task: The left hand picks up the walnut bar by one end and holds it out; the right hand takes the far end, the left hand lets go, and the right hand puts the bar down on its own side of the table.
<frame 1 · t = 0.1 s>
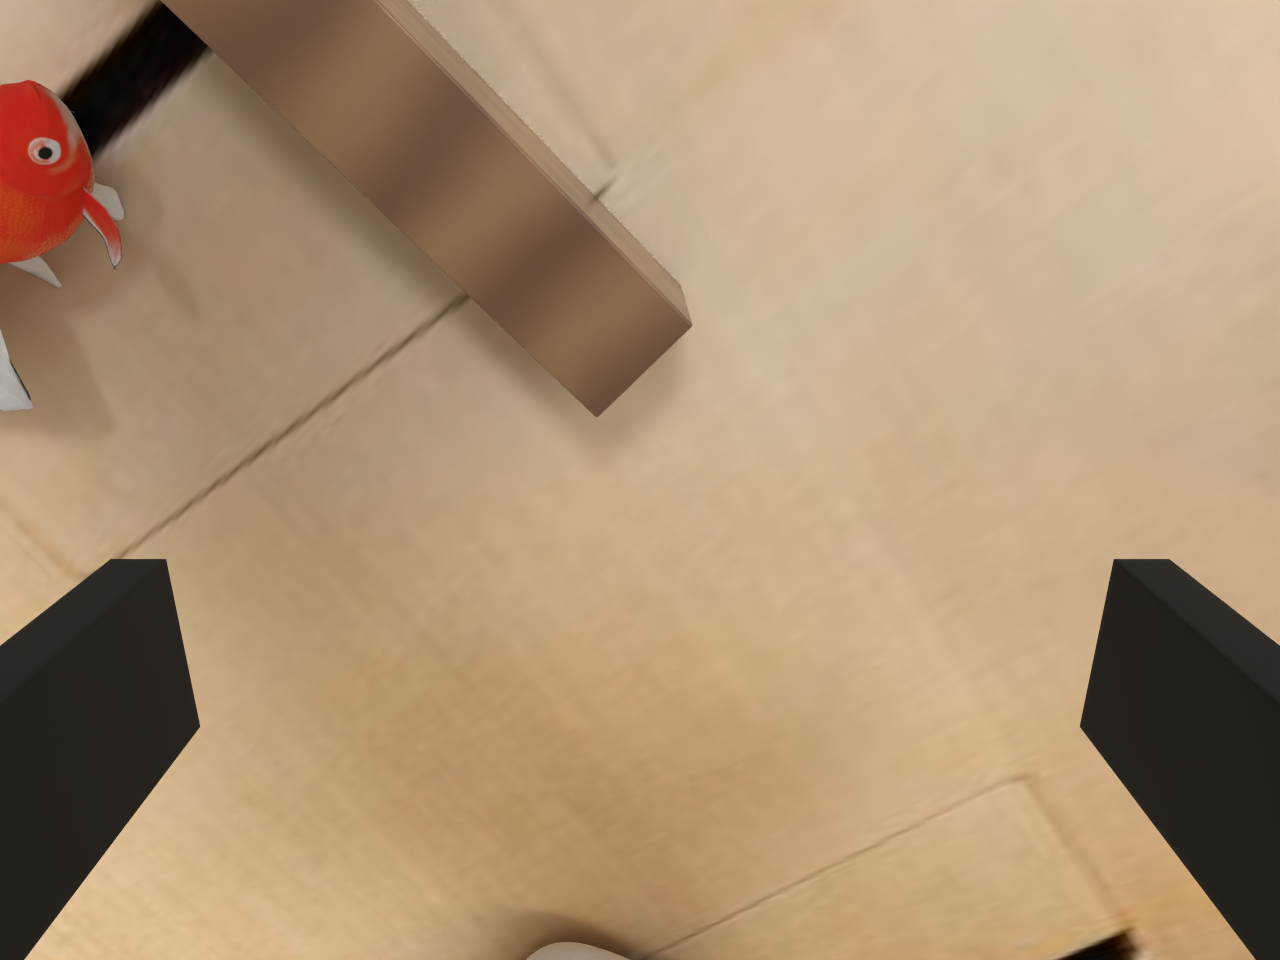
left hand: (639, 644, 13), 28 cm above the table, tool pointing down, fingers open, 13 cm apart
fish: (43, 252, 38), on the table
bar: (448, 128, 36), on the table
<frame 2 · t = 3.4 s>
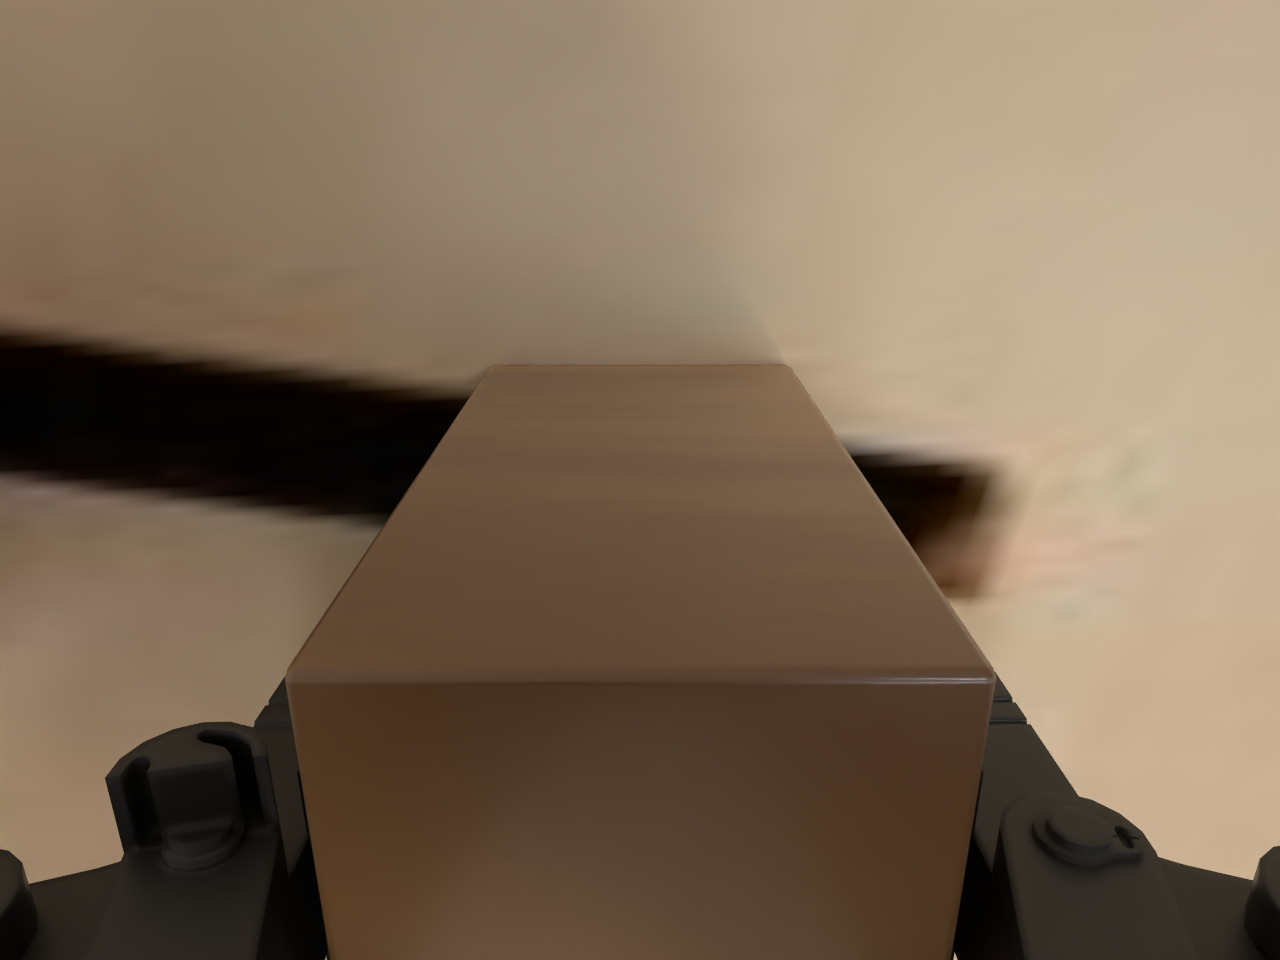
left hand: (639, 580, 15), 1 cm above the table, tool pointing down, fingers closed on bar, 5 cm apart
bar: (640, 917, 18), on the table, touching left hand
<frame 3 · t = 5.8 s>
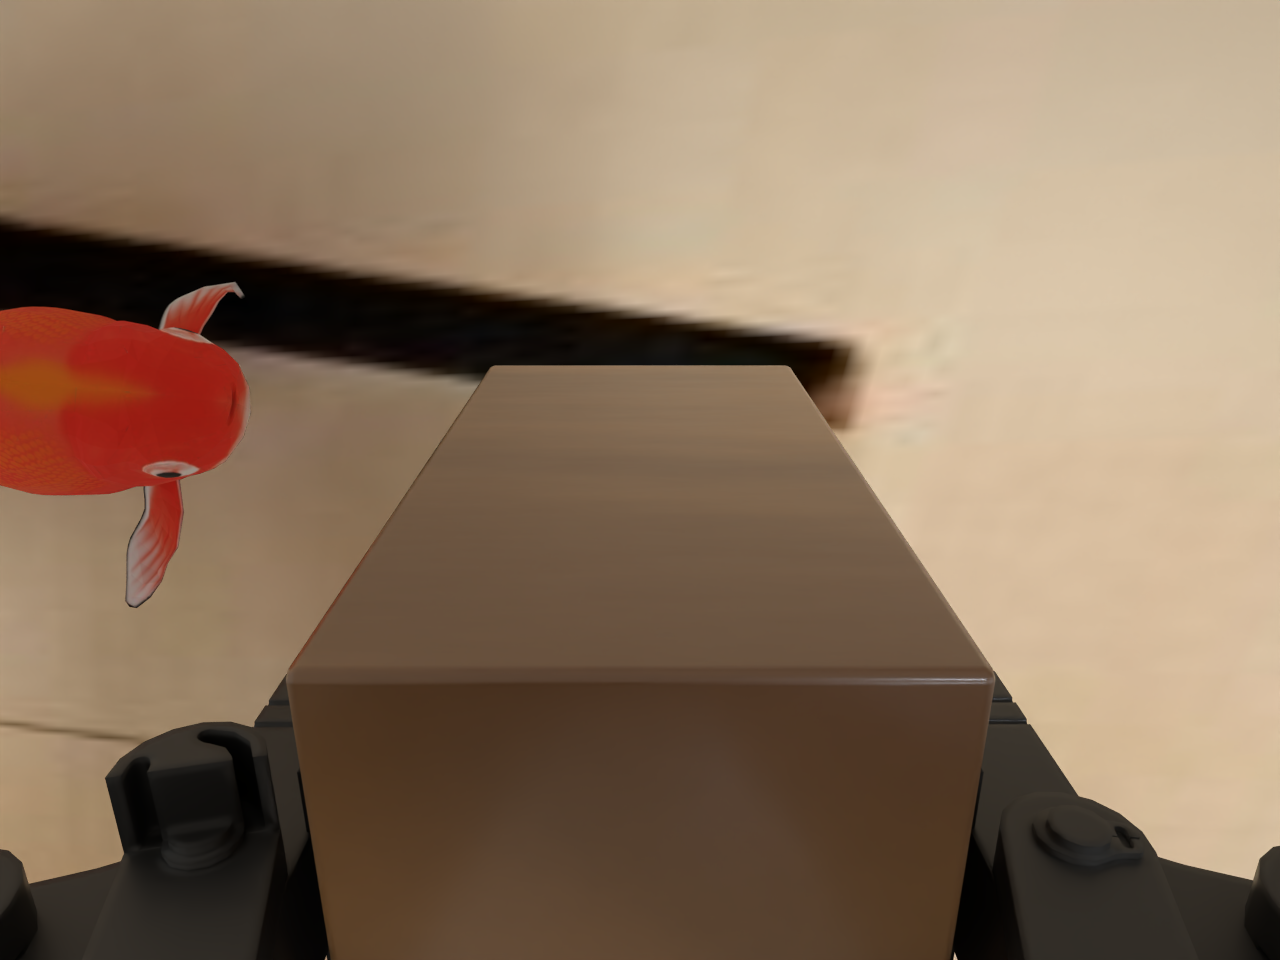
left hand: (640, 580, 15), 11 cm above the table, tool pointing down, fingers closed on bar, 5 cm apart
fish: (43, 367, 24), on the table
bar: (640, 917, 18), point 10 cm above the table, touching left hand
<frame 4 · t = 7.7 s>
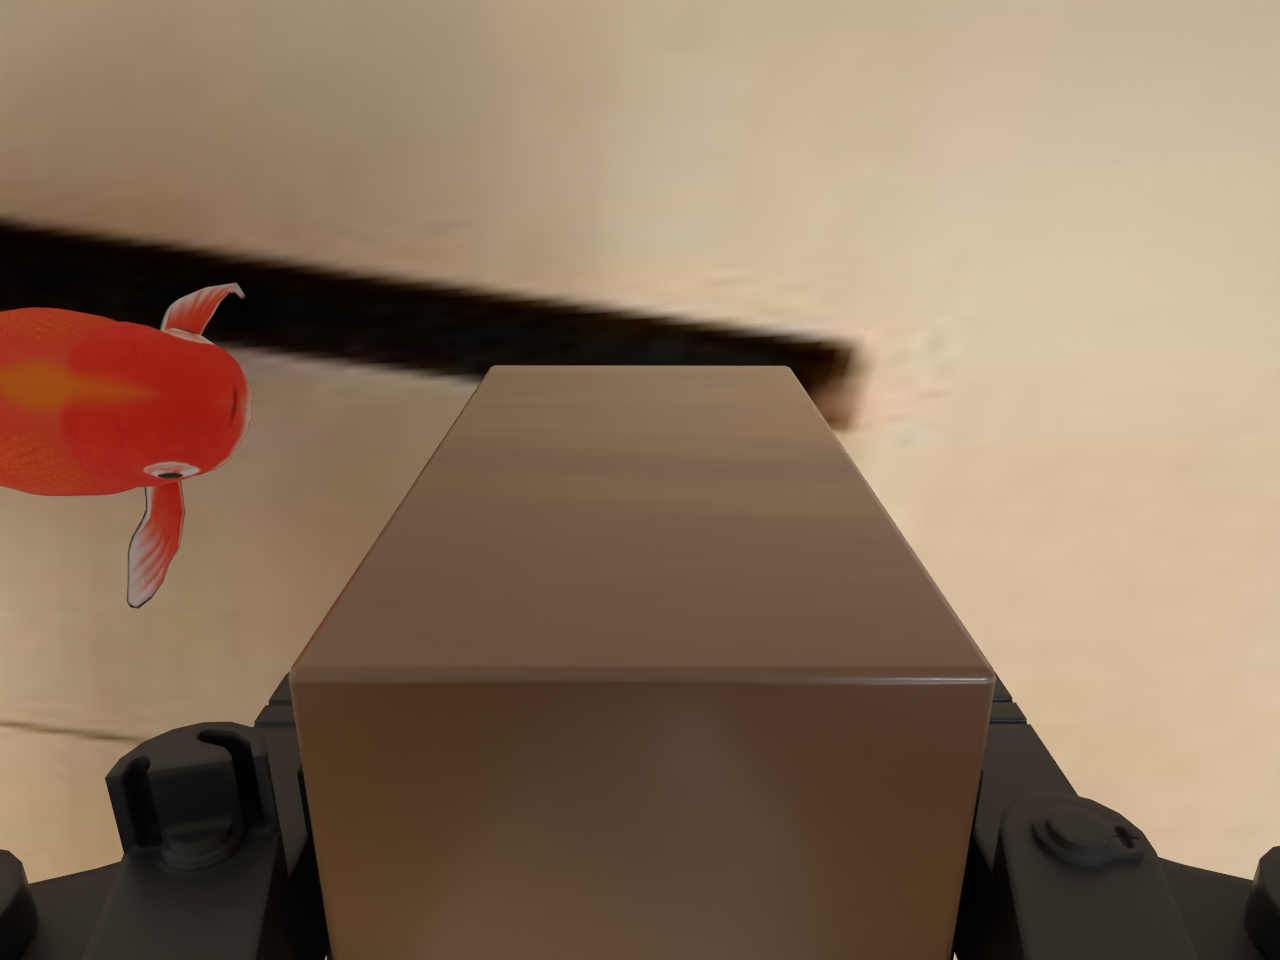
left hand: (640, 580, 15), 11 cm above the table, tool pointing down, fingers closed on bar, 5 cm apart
fish: (45, 368, 24), on the table
bar: (638, 916, 18), point 10 cm above the table, touching left hand, right hand
when the left hand's fingers open (11 cm above the table, at t = 8.5 s): bar stays where it is, held by the right hand.
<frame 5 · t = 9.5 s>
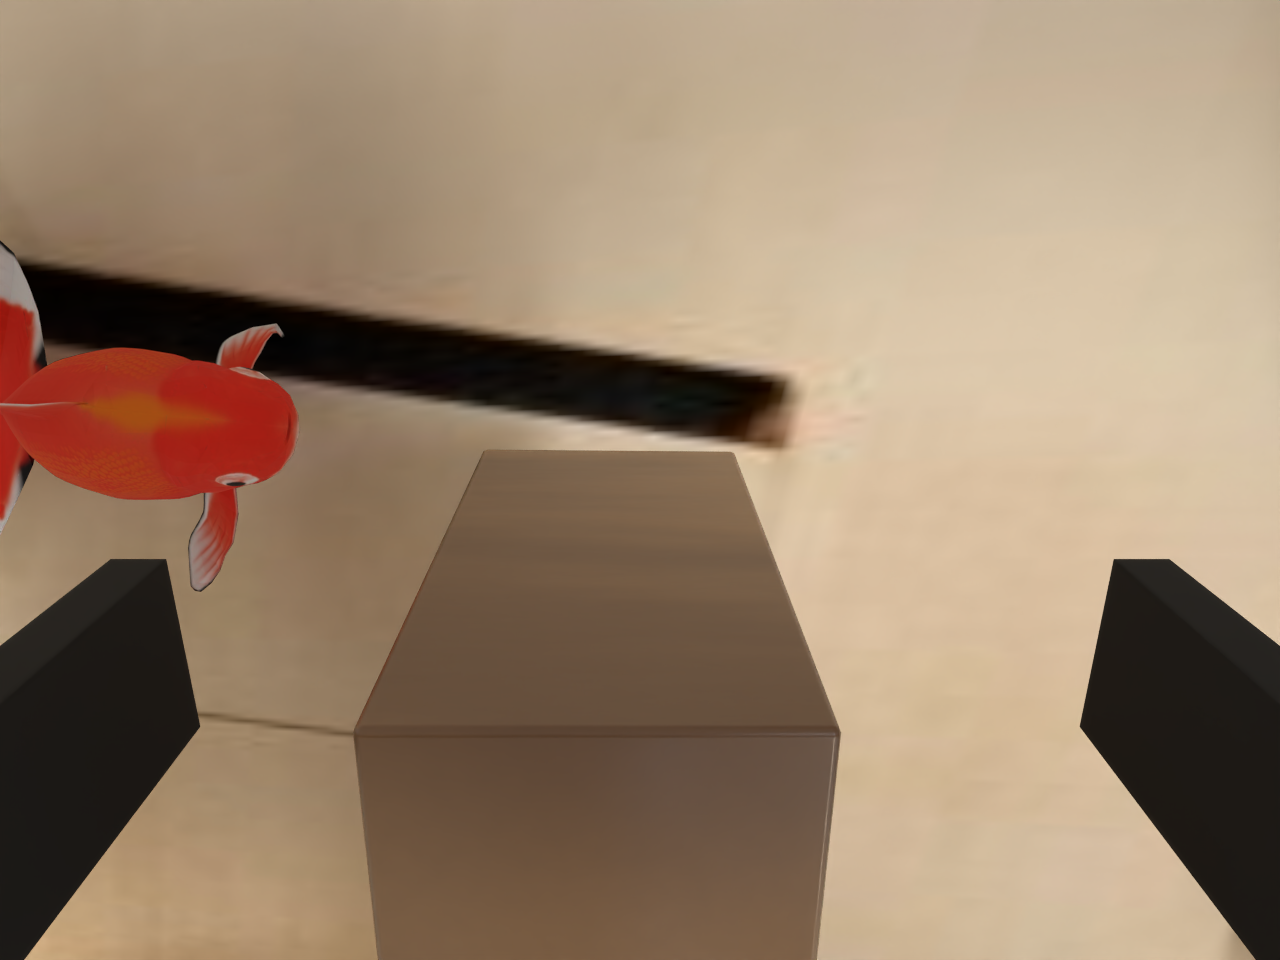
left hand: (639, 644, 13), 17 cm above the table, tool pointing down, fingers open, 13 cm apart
fish: (111, 392, 29), on the table
bar: (607, 918, 20), point 12 cm above the table, touching right hand
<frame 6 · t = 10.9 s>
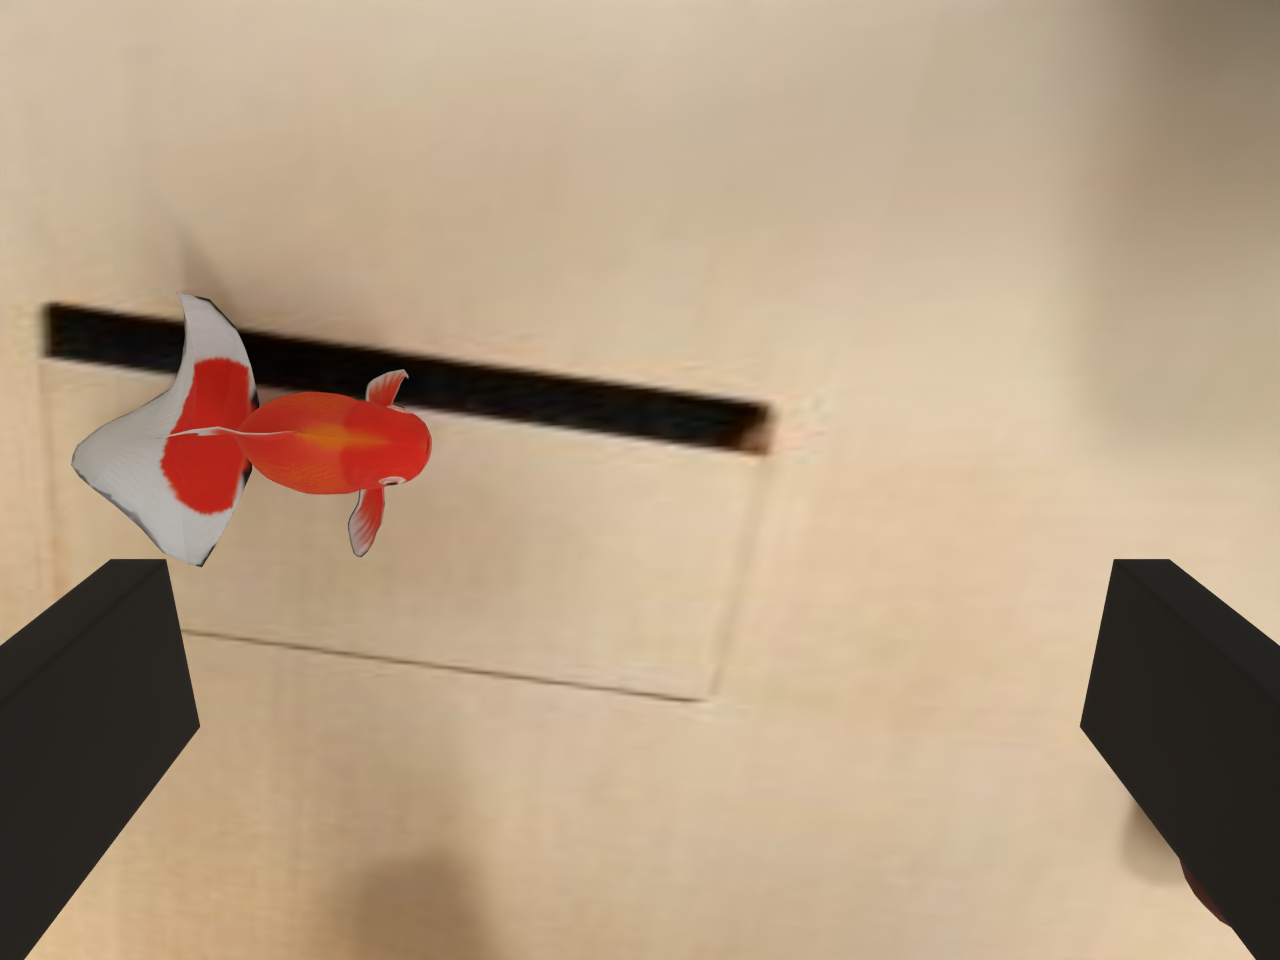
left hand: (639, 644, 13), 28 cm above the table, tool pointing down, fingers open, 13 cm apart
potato: (1219, 802, 48), on the table
fish: (285, 418, 40), on the table
when the right hand's fingers open (4 cm above the table, at t = 14.3 s): bar stays where it is, on the table.
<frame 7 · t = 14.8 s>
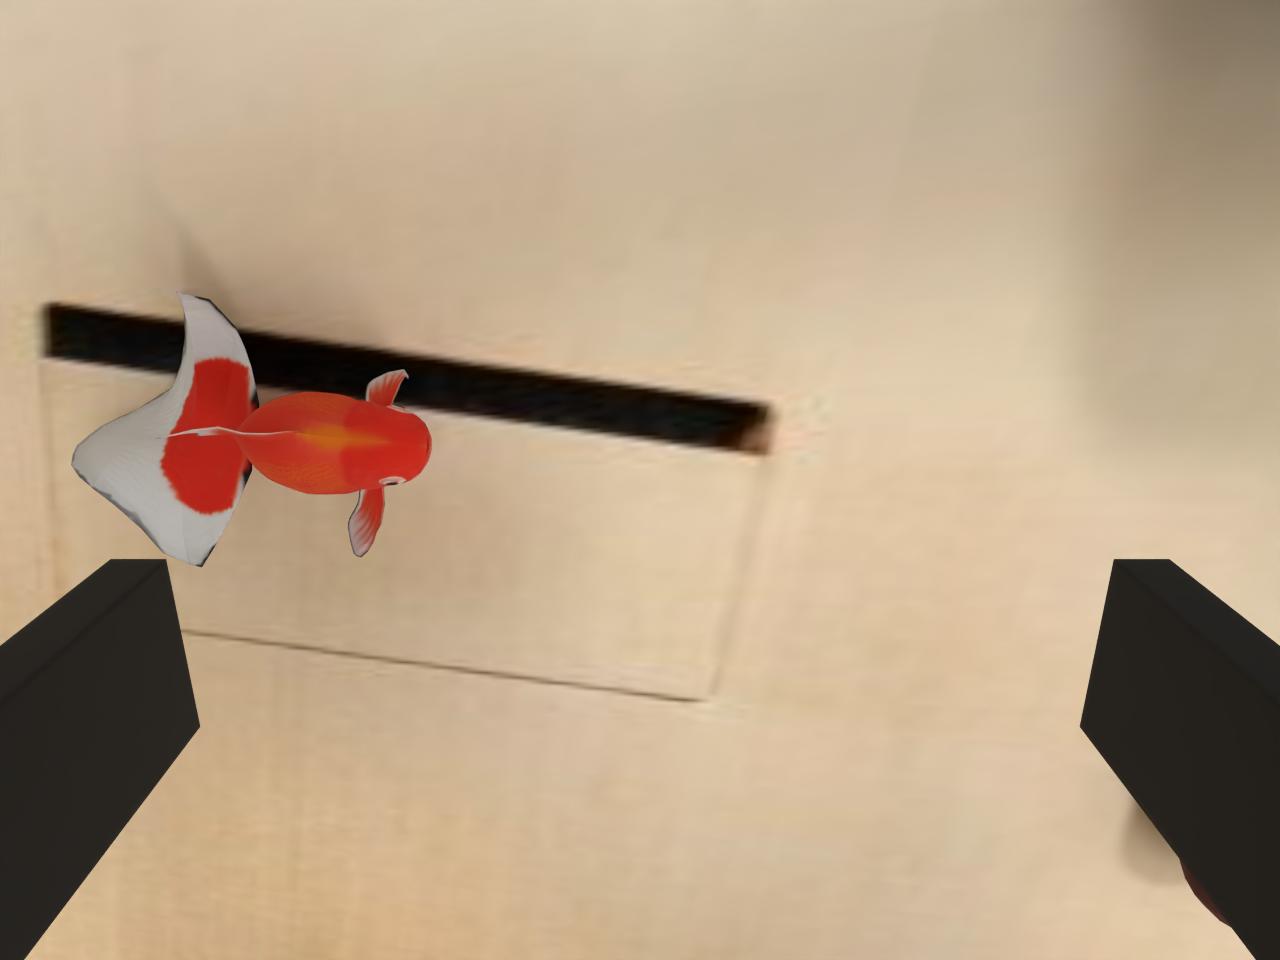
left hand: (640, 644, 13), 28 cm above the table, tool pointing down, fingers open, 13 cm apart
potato: (1219, 802, 48), on the table
fish: (285, 418, 40), on the table
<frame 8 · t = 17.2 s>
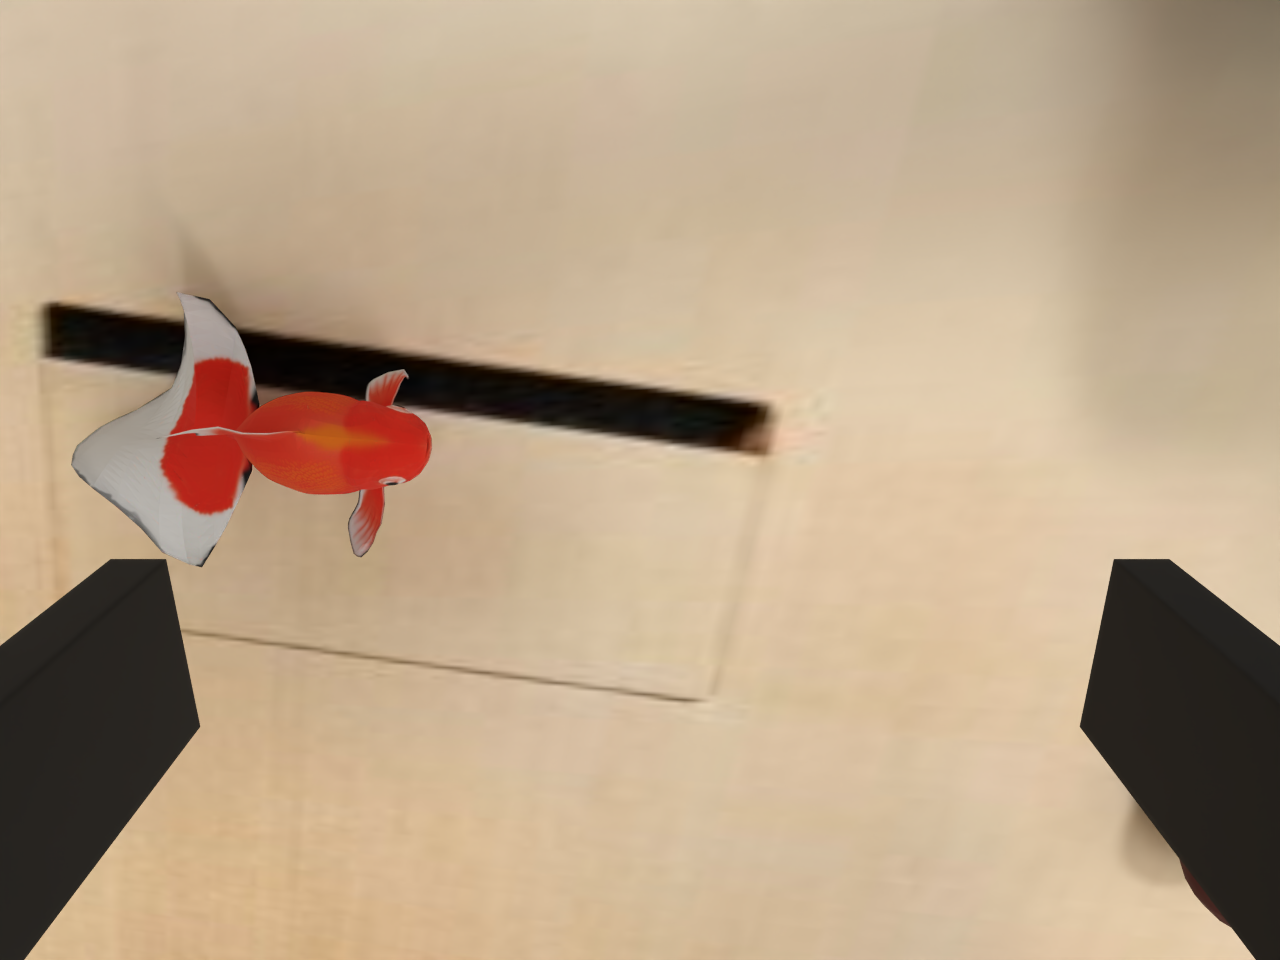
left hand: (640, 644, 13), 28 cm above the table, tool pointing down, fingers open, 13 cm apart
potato: (1219, 802, 48), on the table
fish: (285, 418, 40), on the table
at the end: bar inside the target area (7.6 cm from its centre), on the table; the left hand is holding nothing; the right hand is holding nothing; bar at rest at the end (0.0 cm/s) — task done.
